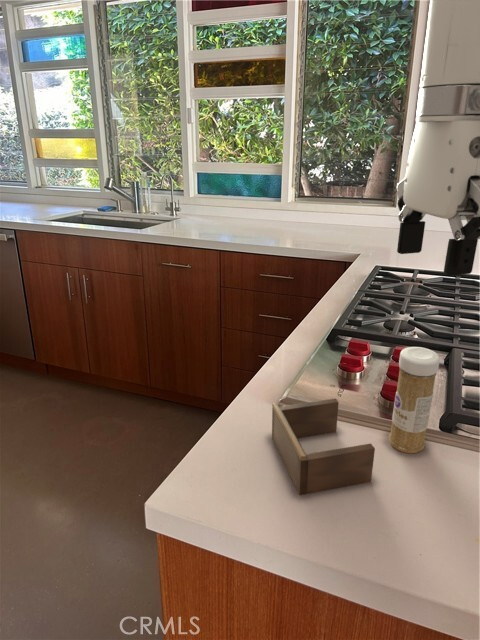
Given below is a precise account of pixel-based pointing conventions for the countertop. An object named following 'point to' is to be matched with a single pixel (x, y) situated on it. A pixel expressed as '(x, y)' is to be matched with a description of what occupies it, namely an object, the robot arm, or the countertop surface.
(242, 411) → the countertop surface
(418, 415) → the sprinkles bottle
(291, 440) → the u-shaped bracket
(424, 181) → the robot arm
